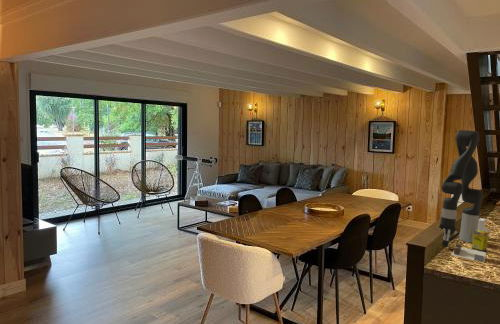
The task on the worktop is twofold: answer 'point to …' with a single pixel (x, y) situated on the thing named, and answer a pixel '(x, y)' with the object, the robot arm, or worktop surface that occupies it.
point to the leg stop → (479, 258)
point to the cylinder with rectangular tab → (482, 225)
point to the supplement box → (480, 240)
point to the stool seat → (469, 254)
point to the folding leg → (457, 249)
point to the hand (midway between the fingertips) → (445, 246)
